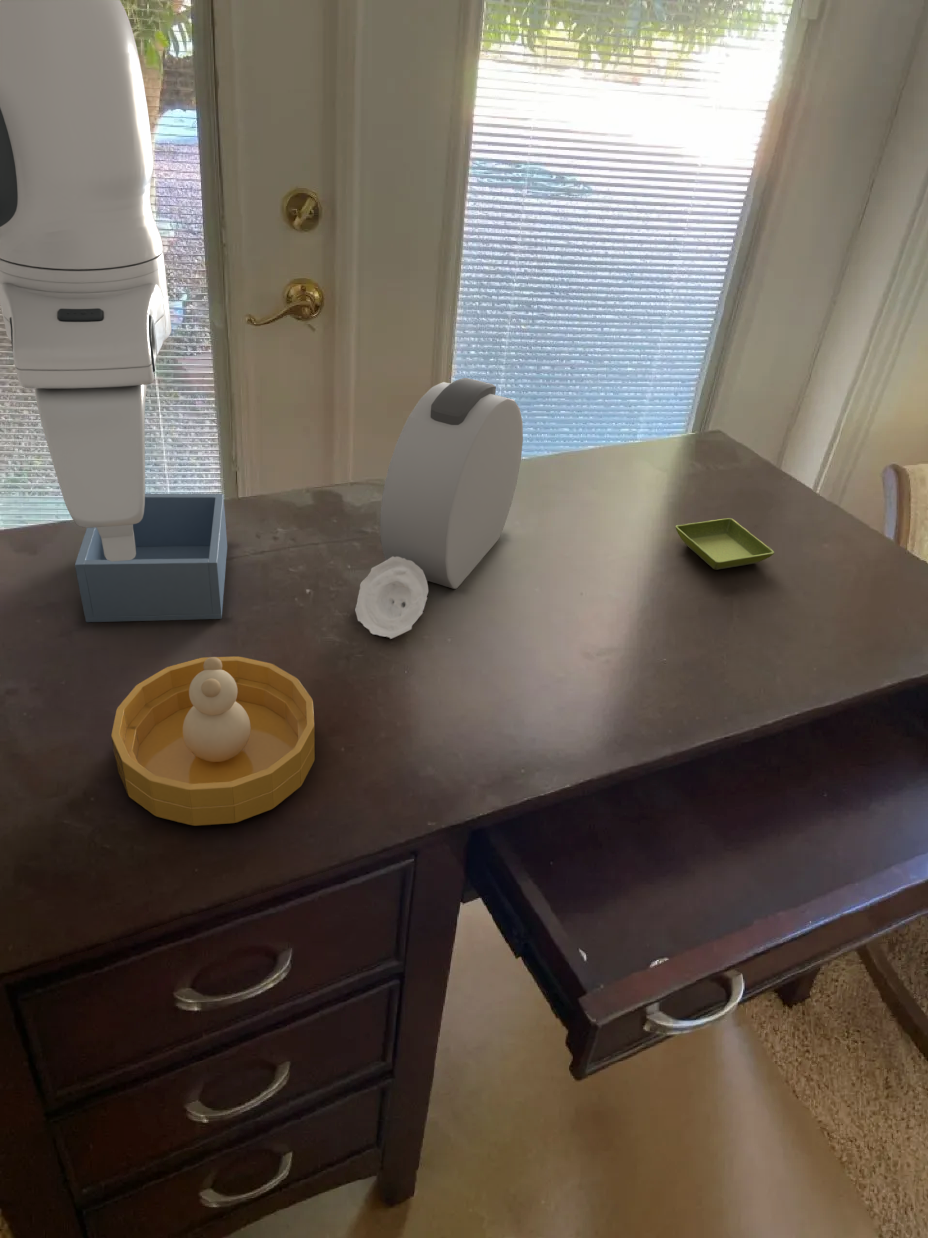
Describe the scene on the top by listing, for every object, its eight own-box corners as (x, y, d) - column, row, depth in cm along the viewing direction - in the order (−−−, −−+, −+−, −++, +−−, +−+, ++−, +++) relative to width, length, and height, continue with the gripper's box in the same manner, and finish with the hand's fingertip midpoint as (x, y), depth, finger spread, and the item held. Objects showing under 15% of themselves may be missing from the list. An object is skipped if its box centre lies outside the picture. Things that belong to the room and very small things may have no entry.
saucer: (727, 531, 112) (731, 516, 111) (771, 567, 105) (776, 552, 104) (669, 540, 108) (673, 525, 107) (712, 578, 102) (716, 562, 101)
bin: (85, 622, 85) (74, 564, 81) (106, 547, 96) (97, 493, 92) (221, 619, 87) (216, 562, 84) (227, 546, 98) (223, 493, 94)
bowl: (107, 837, 65) (98, 795, 62) (133, 700, 77) (126, 659, 74) (317, 823, 68) (317, 782, 65) (310, 692, 80) (310, 653, 77)
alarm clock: (457, 505, 111) (473, 349, 99) (513, 521, 109) (535, 364, 97) (376, 587, 94) (383, 411, 83) (439, 608, 92) (456, 431, 81)
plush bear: (183, 777, 70) (172, 693, 64) (188, 732, 74) (178, 649, 69) (251, 773, 70) (245, 690, 65) (252, 728, 75) (247, 647, 70)
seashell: (405, 650, 92) (456, 617, 87) (367, 652, 88) (418, 617, 83) (382, 582, 94) (431, 546, 90) (344, 580, 90) (393, 542, 86)
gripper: (37, 251, 57) (74, 449, 65) (9, 369, 41) (61, 610, 49) (141, 253, 59) (164, 445, 67) (151, 366, 43) (179, 598, 51)
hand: (120, 516), depth 58 cm, fingers open, 8 cm apart
